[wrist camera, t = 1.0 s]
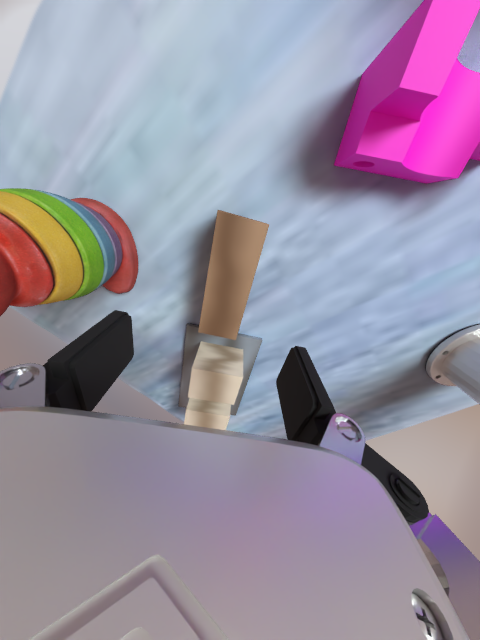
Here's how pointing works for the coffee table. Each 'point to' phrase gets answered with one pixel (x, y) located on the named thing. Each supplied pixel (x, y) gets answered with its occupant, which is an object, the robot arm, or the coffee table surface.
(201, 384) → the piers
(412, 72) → the toy block
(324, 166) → the coffee table surface
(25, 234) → the stacking bear
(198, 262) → the coffee table surface
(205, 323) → the lintel
